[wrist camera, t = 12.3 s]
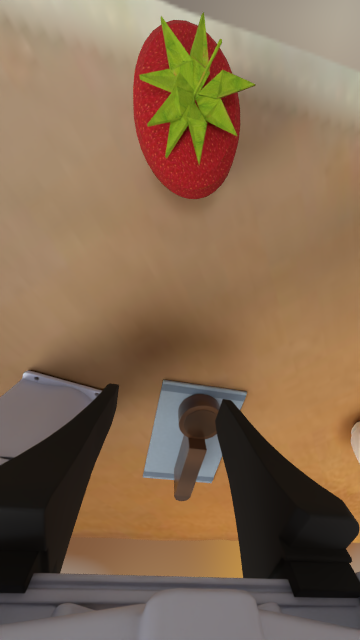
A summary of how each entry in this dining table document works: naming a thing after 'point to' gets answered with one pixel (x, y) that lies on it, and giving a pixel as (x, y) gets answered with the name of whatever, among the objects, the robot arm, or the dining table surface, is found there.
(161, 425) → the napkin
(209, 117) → the strawberry
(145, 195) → the dining table surface
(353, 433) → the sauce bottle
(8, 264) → the dining table surface
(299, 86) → the dining table surface
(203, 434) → the spoon
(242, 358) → the dining table surface
